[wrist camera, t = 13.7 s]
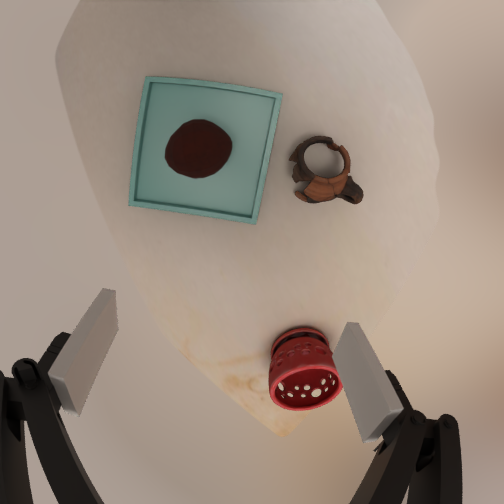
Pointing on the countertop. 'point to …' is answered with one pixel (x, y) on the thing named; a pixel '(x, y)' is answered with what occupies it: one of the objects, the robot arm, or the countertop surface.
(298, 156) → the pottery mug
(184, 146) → the dark brown oval
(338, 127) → the countertop surface
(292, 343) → the plant pot
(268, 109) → the teal tray
